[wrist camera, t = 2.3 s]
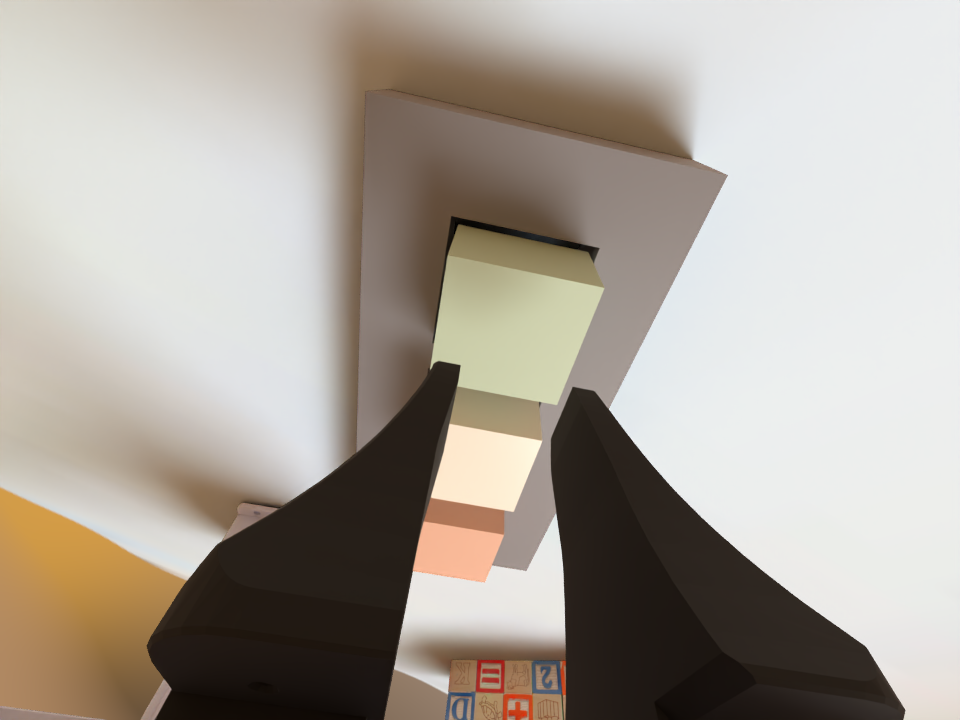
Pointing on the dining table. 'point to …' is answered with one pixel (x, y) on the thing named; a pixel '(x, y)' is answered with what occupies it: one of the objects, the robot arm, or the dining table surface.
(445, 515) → the terracotta key
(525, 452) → the cream key
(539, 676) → the stack of blocks
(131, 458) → the dining table surface
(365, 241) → the board
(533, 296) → the green key
